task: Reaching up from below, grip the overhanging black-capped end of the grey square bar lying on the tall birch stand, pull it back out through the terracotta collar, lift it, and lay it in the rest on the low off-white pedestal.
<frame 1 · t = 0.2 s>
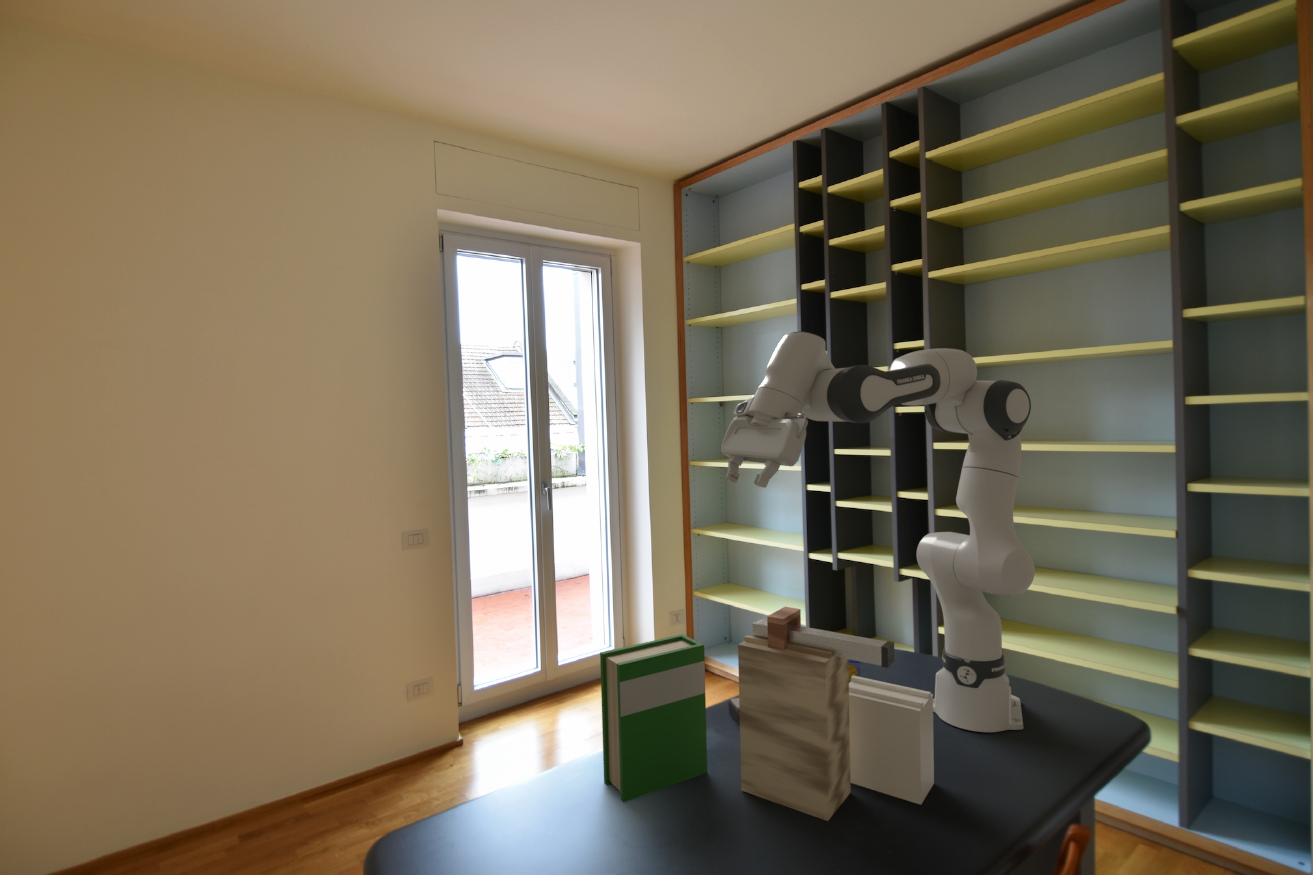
hand: (744, 483, 120), 54 cm above the table, tool tilted 30°, fingers open, 8 cm apart
calculator: (769, 721, 148), on the table
hardback book: (656, 778, 125), on the table
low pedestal: (886, 781, 122), on the table
ink cartridge box: (837, 702, 155), on the table
tall stand: (795, 791, 119), on the table
grey square bar: (819, 650, 115), point 26 cm above the table, touching tall stand
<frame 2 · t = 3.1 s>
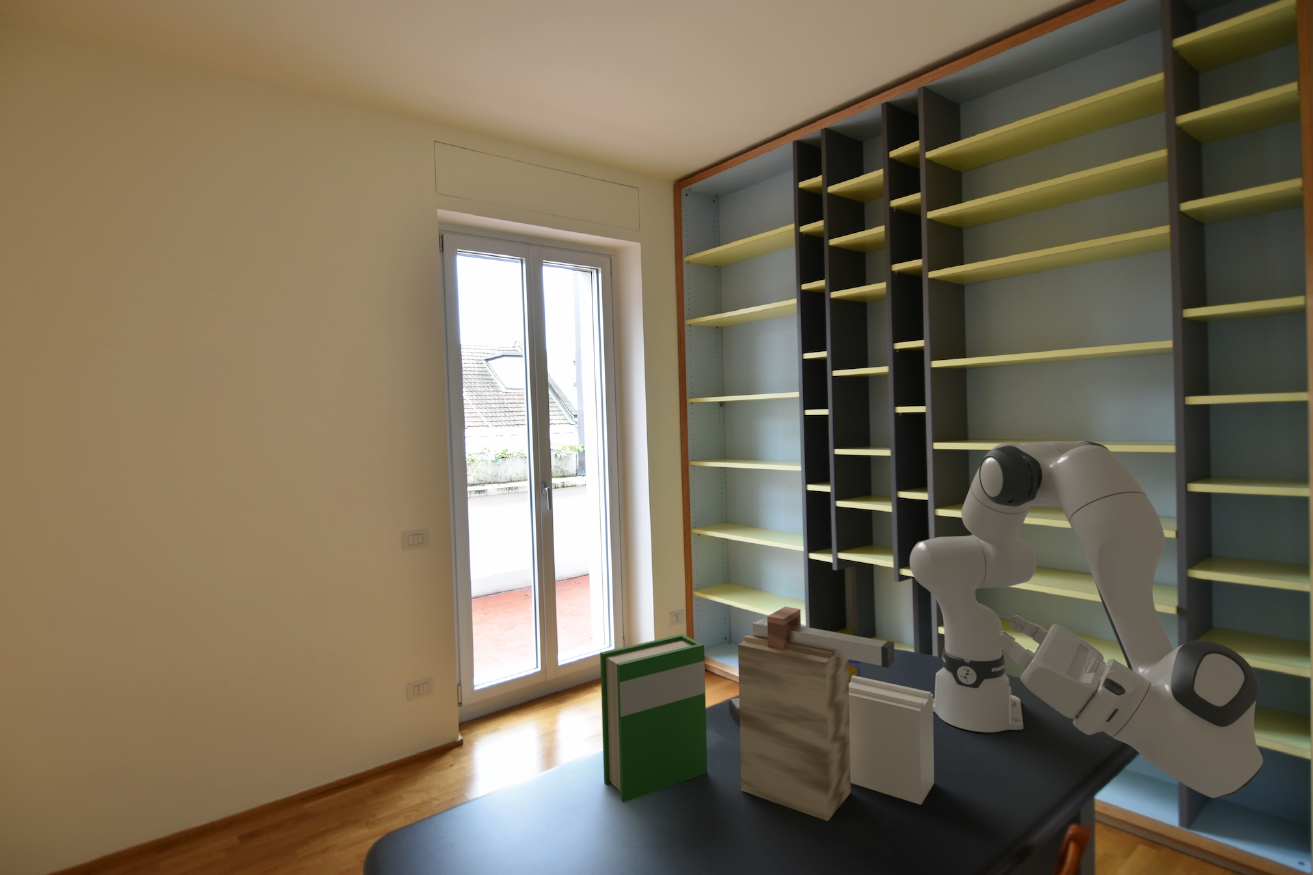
hand: (1005, 627, 98), 35 cm above the table, tool pointing upward, fingers open, 8 cm apart
nothing on the table moved.
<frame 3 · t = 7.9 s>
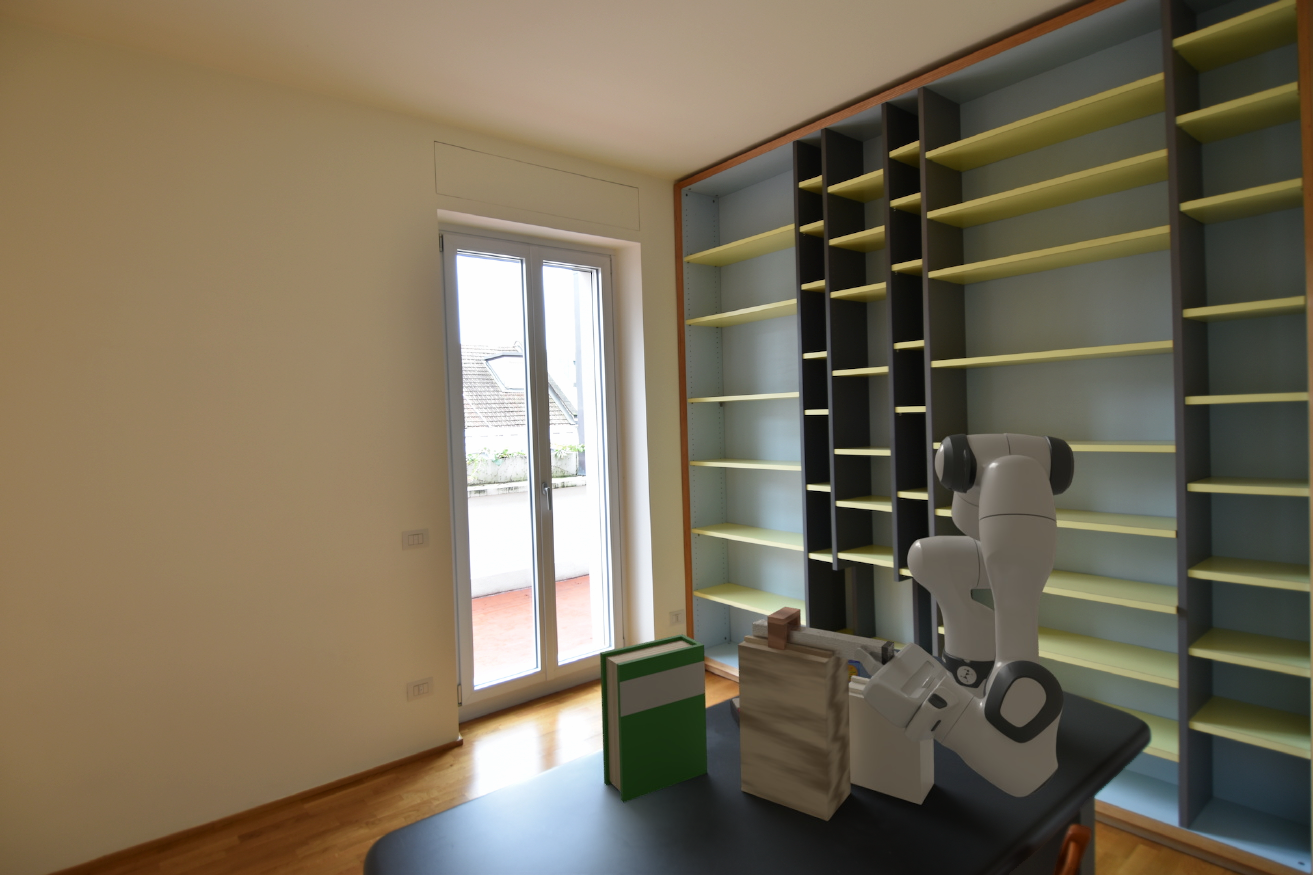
hand: (861, 646, 111), 28 cm above the table, tool pointing upward, fingers closed on grey square bar, 3 cm apart
grey square bar: (819, 649, 115), point 26 cm above the table, touching gripper, tall stand
everything else where it was.
when the fingers open (19 cm above the table, at t = 16.4 s): grey square bar drops 1 cm, resting on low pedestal.
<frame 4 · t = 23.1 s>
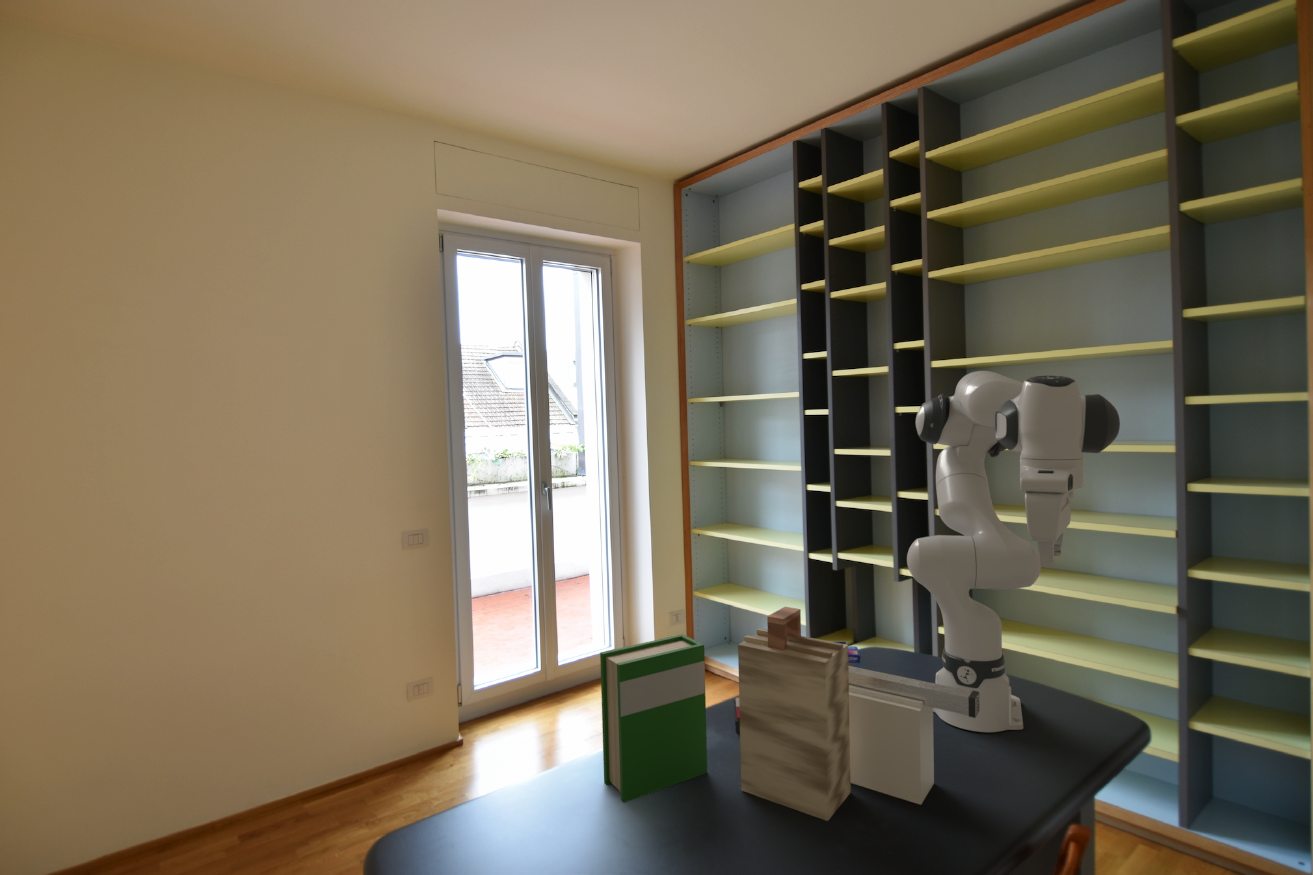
hand: (1051, 560, 111), 41 cm above the table, tool pointing down, fingers open, 8 cm apart
calculator: (770, 724, 146), on the table
grey square bar: (903, 697, 119), point 16 cm above the table, touching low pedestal
everything else where it was.
at the end: grey square bar 2.1 cm from the target spot, point 16.0 cm above the table; grey square bar touching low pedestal; the gripper is holding nothing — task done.
